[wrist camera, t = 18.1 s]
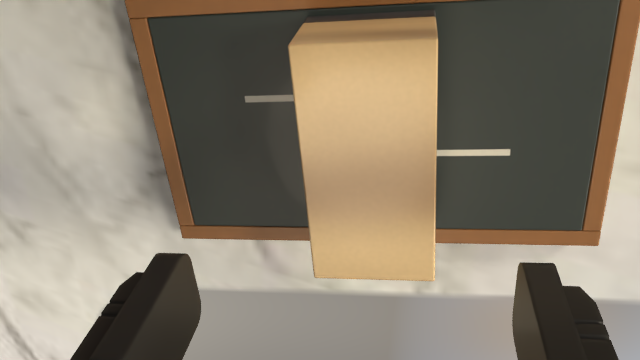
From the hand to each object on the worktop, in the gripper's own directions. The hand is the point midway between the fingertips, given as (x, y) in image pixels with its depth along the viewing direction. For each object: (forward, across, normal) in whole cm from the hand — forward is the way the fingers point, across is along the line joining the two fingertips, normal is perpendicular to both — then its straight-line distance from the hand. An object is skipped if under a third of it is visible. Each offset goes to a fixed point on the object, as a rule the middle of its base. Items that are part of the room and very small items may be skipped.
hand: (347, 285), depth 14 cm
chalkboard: (+13, 0, +1) cm, 13 cm away
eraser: (+12, 0, +1) cm, 12 cm away
